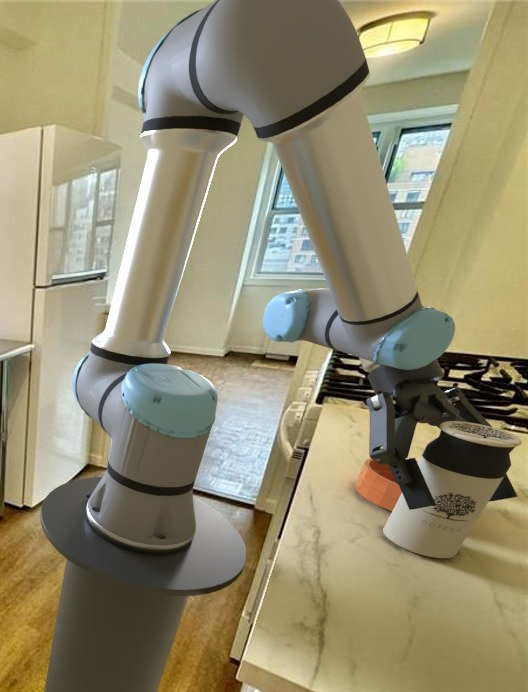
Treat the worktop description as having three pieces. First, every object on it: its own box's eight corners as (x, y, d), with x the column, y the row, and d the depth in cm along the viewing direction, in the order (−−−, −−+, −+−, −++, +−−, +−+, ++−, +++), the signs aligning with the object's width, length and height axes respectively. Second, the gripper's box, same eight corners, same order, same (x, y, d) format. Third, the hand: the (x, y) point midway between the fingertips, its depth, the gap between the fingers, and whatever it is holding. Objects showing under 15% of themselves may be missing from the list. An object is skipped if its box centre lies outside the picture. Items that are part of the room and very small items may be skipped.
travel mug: (384, 520, 76) (439, 415, 68) (455, 543, 71) (523, 432, 63) (378, 542, 71) (437, 431, 63) (454, 568, 66) (527, 451, 58)
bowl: (348, 501, 81) (360, 475, 79) (358, 473, 90) (369, 449, 88) (462, 535, 73) (479, 508, 70) (461, 501, 81) (476, 475, 79)
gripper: (351, 353, 66) (417, 505, 60) (496, 347, 70) (573, 489, 64) (305, 378, 73) (359, 516, 67) (438, 372, 77) (502, 501, 71)
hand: (463, 503), depth 65 cm, fingers open, 13 cm apart
